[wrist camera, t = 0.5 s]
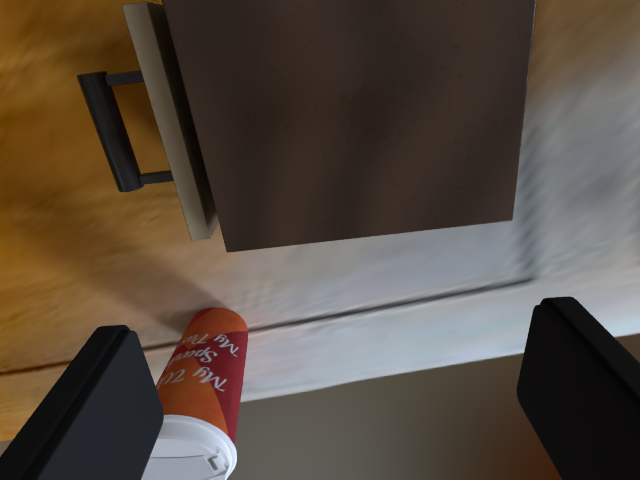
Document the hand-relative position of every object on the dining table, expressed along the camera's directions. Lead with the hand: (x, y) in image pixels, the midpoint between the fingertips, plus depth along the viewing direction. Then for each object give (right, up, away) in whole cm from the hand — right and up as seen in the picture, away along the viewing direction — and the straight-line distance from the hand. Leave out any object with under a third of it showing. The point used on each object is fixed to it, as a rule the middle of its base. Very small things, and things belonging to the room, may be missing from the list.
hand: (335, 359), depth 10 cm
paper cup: (-10, -6, +29) cm, 31 cm away
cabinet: (+1, +13, +19) cm, 23 cm away
